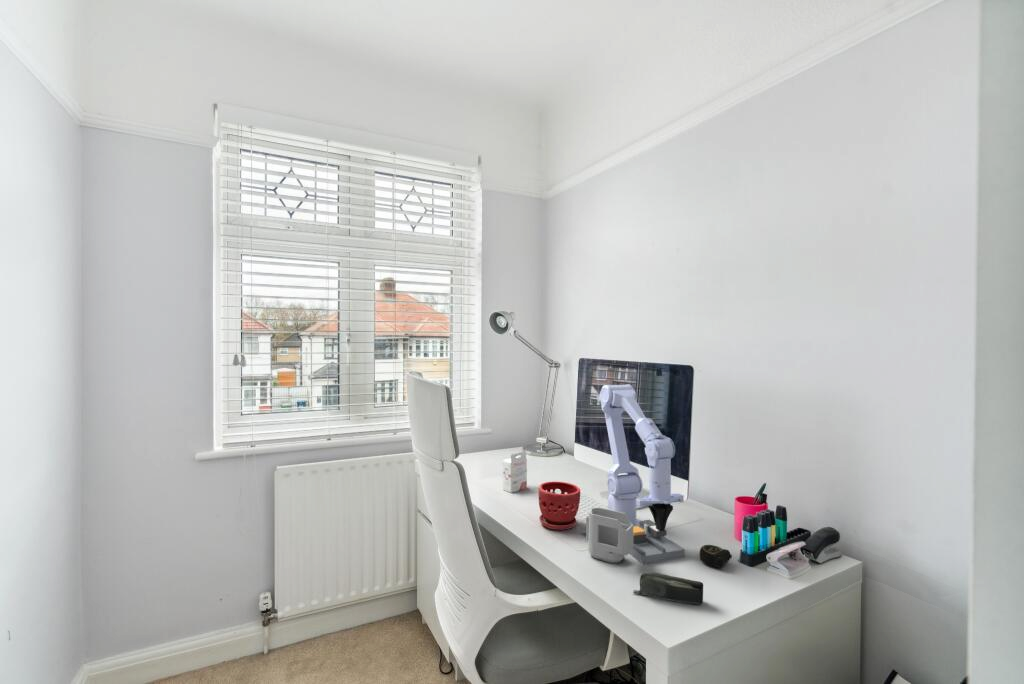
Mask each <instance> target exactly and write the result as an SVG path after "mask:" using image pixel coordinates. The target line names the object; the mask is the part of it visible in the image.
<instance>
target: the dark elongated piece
mask: <svg viewBox="0 0 1024 684" xmlns="http://www.w3.org/2000/svg"><path fill="white" fill-rule="evenodd" d="M633 594H636V595H643V596H648V597H652V598H653V597H654V598H659V599H662V600H669V601H673V602H675V603H676V602H677V603H682V604H687V605H691V606H700V605H702V604H703V602H704V601H703V600H704V583H703V582H701V581H698V580H693V579H688V578H683V577H679V576H673V575H670V574H665V573H660V572H656V571H655V572H654V571H652V572H643V573H641V575H640V577H639V589H638V590H635V589H634V590H633Z"/></svg>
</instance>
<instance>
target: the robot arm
mask: <svg viewBox="0 0 1024 684" xmlns="http://www.w3.org/2000/svg"><path fill="white" fill-rule="evenodd" d="M636 394H637V392H636V391H635V389H634V388H633V386H632V385H631V384H630V383H628V384H627V383H626V384H614V385H613V384H612V385H608V384H605V385H602V387H601V389H600V392H599V394H598V395H599V401H600V406H601V410H602V412H603V413H604V418H605V423H606V429H607V433H608V434H607V435H608V441H609V447H610V452H611V457H612V463H613V465H612V466H611V468H610V469H609V470H608V471H607V472H606V475H607V481H606V482H607V483H606V486H607V490H608V492H609V496H608V497H607V509H609V510H613V511H618V512H622V513H626V515H627V516H628V518H629V520H630V522H631V523H632V524H633V527H635V526H638V527H639V526H640V522H638V521H637V507H638V508H641V509H642V508H644V507H648V508H649V511H650V512H651V515H652V517H653V522H654V523H655V525H656V529H658V530H659V531H664V530H666V527H667V526H666V525H667V522H668V518H669V517H670V515H671V513H672V512H673V511H674V506H673V505H672V504H673V503H684V501H685V499H684V495H683V494H682V493H672V489H671V488H672V486H671V485H672V479H671V477H672V474H671V472H672V471H671V470H672V469H671V467H672V466H671V464H672V462H671V459H672V458H674V456H675V454H676V446H675V444H674V441H673V439H671V438H670V437H667V436H666V435H664V434H663V433H662V432H661V431H660V429H659V428H658V426H657V425H656V424H655V421H654V420H653V419H652V418H650V417H649V418H648V417H646V416H645V414H644V412H643V410H642V408H641V407H640V404H639V403H638V401H637V399H636V397H637V395H636ZM623 412H626V413H627V414H628V415H629V417H630V418H631V419H632V421H633V422H634V424H635V426H634V430H635V432H636V433H637V435H638V437H639V438H640V440H641V441H642V443H643V444H644V446H645V447H644V453H645V455H646V458H647V465H648V466H649V495H645V496H643V497H639V496H640V495H639V494H640V493H641V492H642V490H643V486H644V484H643V481H642V478H641V476H640V473H639V470H638V469H639V468H637V467H636V466H634V465H632V463H631V461H630V456H629V455H630V454H629V449H628V444H627V440H626V434H625V430H624V423H623V418H622V414H623ZM619 474H620V475H619ZM638 497H639V498H638ZM621 524H623V523H621ZM625 525H628V524H625Z"/></svg>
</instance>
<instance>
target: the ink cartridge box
mask: <svg viewBox="0 0 1024 684" xmlns="http://www.w3.org/2000/svg"><path fill="white" fill-rule="evenodd" d="M527 461H528V460H527V451H520V452H515V453H512V454H510V458H507V459H503V460H502V481H503V482H502V483H503V485H502V488H503V489H502V490H503V491H505V492H508V493H512V494H513V493H515V492H516V493H517V492H519V491H522V490H525V489H527V488H528V487H527V486H528V483H527V482H528V481H527V480H528V477H527V475H528V474H527V472H528V467H527V465H528V463H527Z"/></svg>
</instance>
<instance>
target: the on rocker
mask: <svg viewBox="0 0 1024 684" xmlns="http://www.w3.org/2000/svg"><path fill="white" fill-rule="evenodd" d="M639 523H640V527H642V528H643V529H644V524H646V525H648V532H649V533H651V534H652V535H654V536H655V537H661V536H664V537H666V536H667V535H668V534H667V532H668V531H667V529H665V530H664V531H659V530H658V529H656V525H655V521H652V520H651V519H647V520H646V519H645V520H644V519H643V520H639Z"/></svg>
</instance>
